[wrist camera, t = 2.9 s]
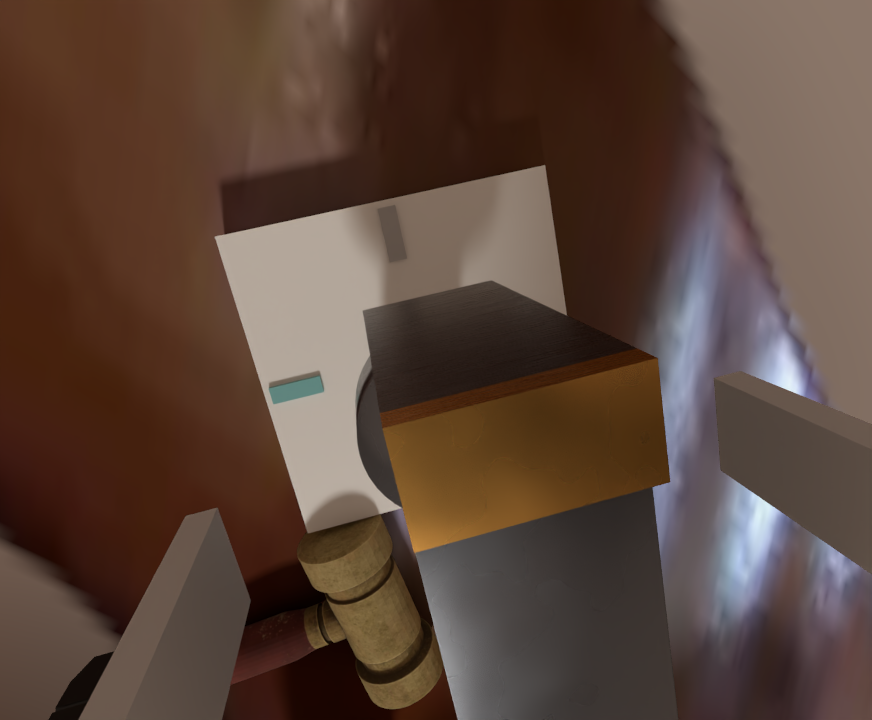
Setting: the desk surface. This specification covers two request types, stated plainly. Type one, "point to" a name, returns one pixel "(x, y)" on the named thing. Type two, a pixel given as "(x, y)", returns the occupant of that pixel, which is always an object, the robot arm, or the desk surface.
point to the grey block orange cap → (525, 500)
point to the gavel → (352, 617)
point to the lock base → (368, 288)
